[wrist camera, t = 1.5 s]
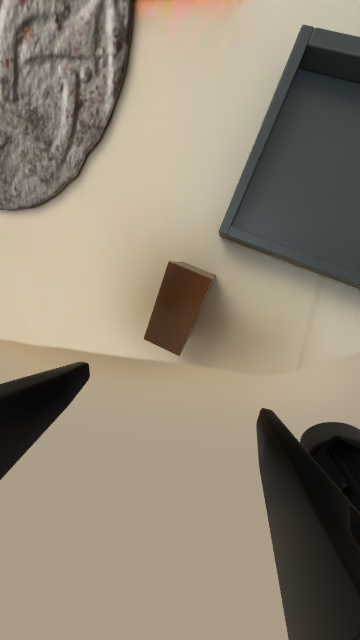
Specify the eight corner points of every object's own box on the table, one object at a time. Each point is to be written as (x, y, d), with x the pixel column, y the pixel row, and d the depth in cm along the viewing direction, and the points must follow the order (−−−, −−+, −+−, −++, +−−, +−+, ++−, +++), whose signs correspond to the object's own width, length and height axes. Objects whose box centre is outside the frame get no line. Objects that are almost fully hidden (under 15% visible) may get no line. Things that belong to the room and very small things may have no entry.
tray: (545, 121, 11) (613, 91, 9) (390, 300, 16) (413, 305, 14) (291, 59, 13) (302, 23, 11) (219, 235, 18) (218, 232, 16)
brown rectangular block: (216, 275, 19) (212, 279, 14) (189, 336, 22) (179, 356, 17) (182, 261, 19) (168, 261, 15) (160, 323, 22) (143, 339, 18)
